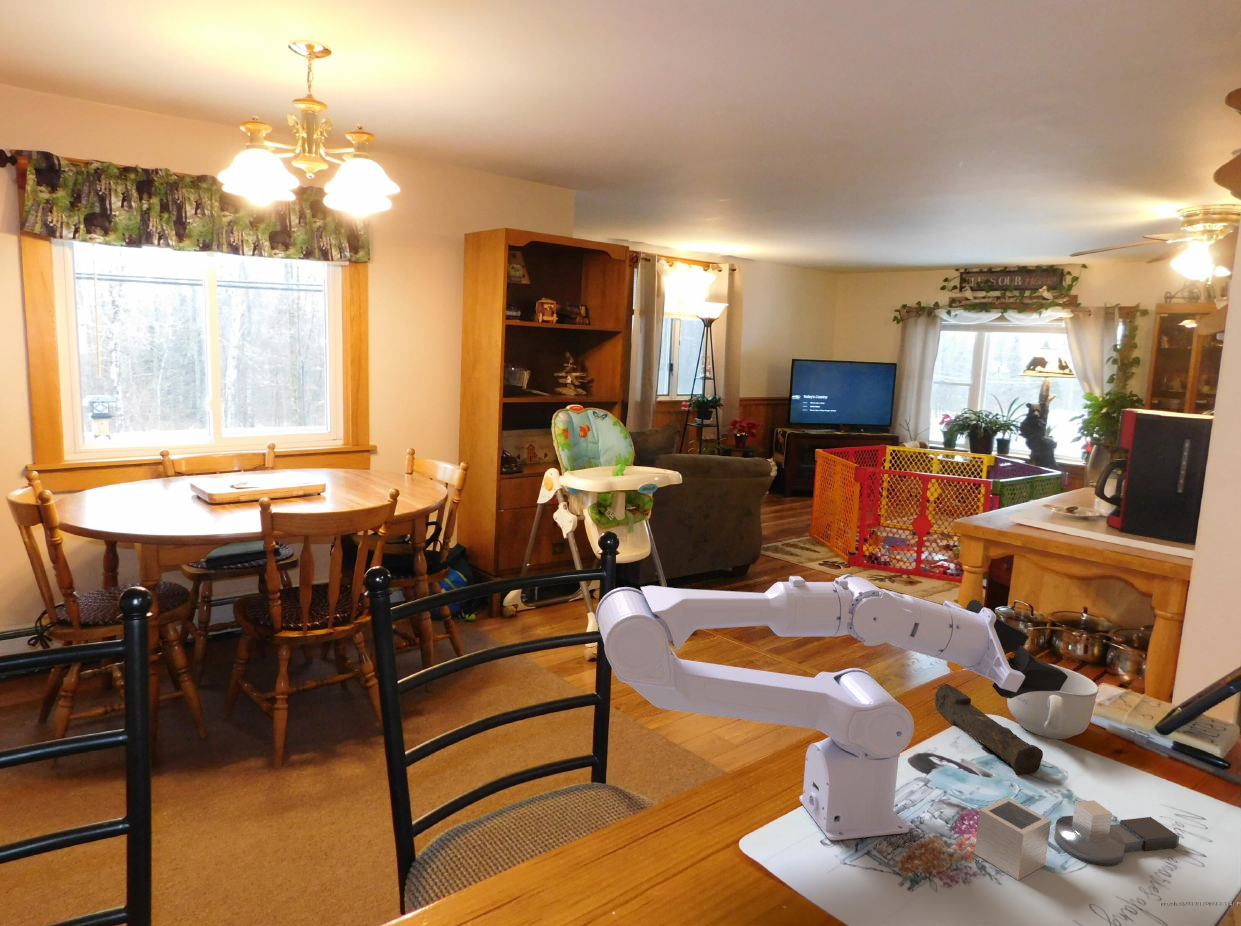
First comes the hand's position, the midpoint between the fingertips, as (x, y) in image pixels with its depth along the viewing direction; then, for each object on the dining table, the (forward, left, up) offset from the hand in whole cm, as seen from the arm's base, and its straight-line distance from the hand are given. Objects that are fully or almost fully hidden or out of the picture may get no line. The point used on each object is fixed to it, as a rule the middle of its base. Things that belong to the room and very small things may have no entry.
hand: (1041, 661), depth 89 cm
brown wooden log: (+5, +16, -18) cm, 25 cm away
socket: (-8, -8, -18) cm, 21 cm away
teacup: (+16, +16, -18) cm, 29 cm away
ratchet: (+5, -7, -18) cm, 20 cm away
